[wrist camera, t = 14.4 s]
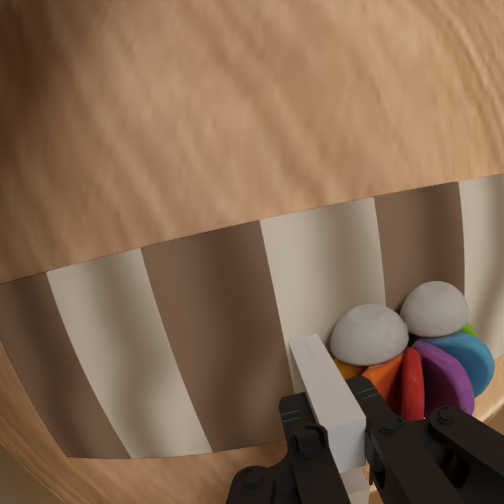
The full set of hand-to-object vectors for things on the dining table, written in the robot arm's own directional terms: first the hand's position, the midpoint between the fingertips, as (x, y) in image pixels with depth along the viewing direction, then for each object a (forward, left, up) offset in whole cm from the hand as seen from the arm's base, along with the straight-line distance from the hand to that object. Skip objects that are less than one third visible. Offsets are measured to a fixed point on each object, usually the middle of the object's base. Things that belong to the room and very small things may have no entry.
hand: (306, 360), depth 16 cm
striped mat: (-1, 0, -2) cm, 2 cm away
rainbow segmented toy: (+5, -2, -2) cm, 6 cm away
